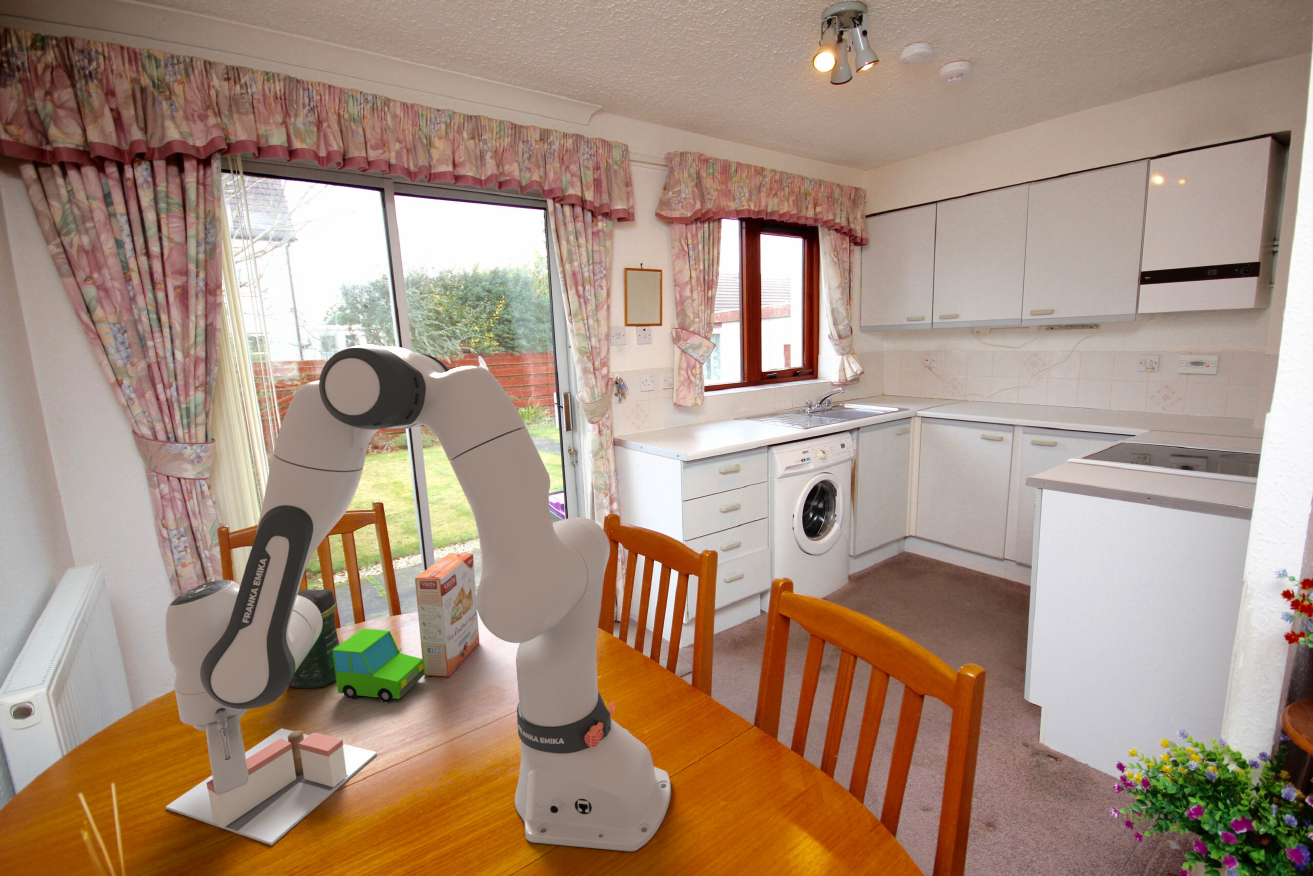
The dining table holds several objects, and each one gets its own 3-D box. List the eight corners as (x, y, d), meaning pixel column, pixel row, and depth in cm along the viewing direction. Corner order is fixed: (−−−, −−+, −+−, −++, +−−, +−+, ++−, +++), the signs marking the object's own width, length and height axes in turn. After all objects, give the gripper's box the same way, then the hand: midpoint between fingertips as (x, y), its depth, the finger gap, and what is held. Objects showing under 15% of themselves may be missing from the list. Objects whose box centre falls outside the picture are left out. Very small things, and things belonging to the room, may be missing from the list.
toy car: (397, 709, 106) (392, 658, 104) (334, 702, 109) (328, 652, 107) (430, 677, 116) (425, 630, 114) (371, 672, 119) (366, 626, 117)
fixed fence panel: (347, 775, 89) (342, 739, 88) (332, 788, 86) (327, 751, 85) (318, 767, 90) (313, 732, 90) (303, 779, 88) (298, 743, 87)
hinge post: (311, 771, 91) (306, 732, 90) (300, 780, 89) (294, 740, 88) (302, 768, 91) (296, 729, 90) (290, 777, 90) (284, 737, 88)
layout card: (376, 754, 94) (376, 751, 94) (271, 845, 77) (271, 842, 77) (281, 730, 101) (281, 727, 101) (166, 809, 84) (165, 805, 84)
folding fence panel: (286, 773, 89) (281, 738, 88) (296, 779, 88) (291, 743, 87) (213, 821, 81) (206, 783, 80) (223, 828, 79) (216, 789, 78)
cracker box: (451, 678, 115) (441, 578, 112) (422, 676, 116) (411, 577, 113) (482, 642, 129) (474, 552, 125) (456, 641, 130) (447, 551, 126)
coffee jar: (351, 668, 120) (341, 582, 117) (328, 690, 112) (315, 600, 109) (307, 667, 121) (295, 583, 118) (280, 690, 113) (266, 600, 110)
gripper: (252, 720, 77) (267, 813, 79) (238, 658, 92) (251, 737, 94) (192, 742, 73) (209, 839, 75) (187, 673, 88) (202, 756, 90)
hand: (232, 782), depth 85 cm, fingers closed
